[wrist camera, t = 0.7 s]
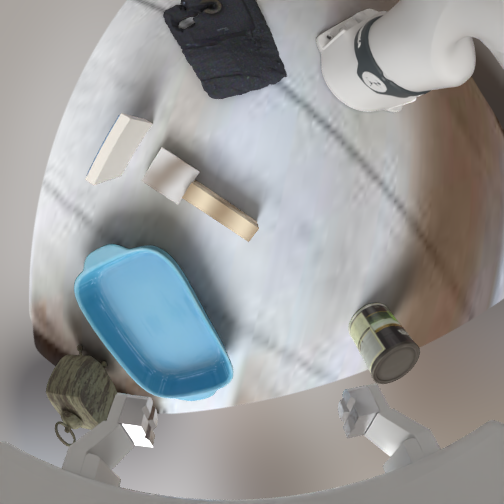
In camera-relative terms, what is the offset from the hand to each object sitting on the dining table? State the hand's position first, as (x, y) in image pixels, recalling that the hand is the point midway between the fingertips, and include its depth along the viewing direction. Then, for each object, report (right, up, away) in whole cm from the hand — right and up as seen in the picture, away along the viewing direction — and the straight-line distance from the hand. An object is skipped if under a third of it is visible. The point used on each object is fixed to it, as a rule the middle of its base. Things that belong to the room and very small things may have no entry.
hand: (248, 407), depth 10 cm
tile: (-19, +23, +29) cm, 41 cm away
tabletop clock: (-37, -20, +45) cm, 62 cm away
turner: (-8, +16, +32) cm, 37 cm away
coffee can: (+26, -9, +45) cm, 52 cm away
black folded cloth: (-4, +40, +23) cm, 47 cm away
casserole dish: (-18, -6, +41) cm, 45 cm away
